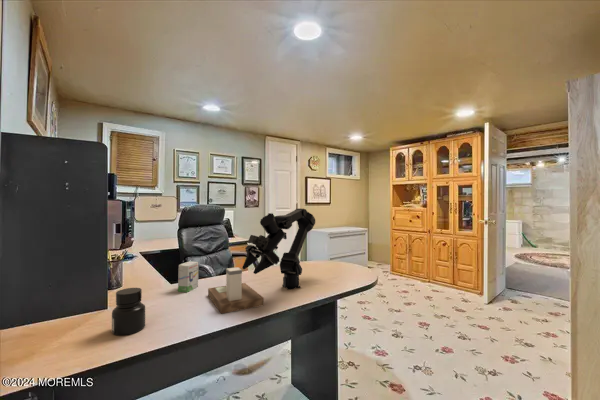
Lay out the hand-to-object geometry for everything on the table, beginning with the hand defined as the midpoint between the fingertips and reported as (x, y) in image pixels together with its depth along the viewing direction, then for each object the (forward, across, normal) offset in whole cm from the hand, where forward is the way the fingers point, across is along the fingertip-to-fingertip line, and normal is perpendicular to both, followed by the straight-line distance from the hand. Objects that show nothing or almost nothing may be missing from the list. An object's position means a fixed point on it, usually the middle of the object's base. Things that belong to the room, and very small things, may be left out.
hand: (248, 271), depth 111 cm
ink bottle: (+37, -2, -19) cm, 42 cm away
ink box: (+18, -32, -1) cm, 37 cm away
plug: (+13, 0, +4) cm, 14 cm away
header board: (+11, -6, +6) cm, 14 cm away
